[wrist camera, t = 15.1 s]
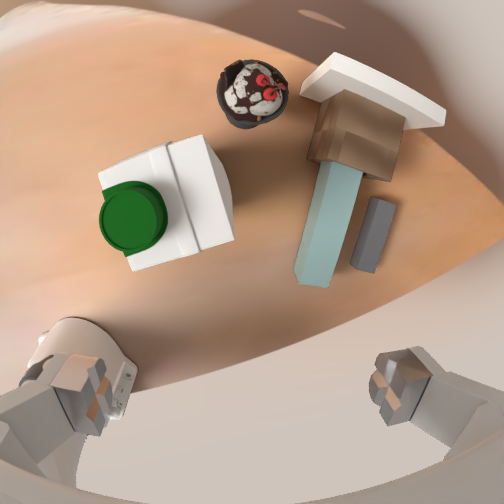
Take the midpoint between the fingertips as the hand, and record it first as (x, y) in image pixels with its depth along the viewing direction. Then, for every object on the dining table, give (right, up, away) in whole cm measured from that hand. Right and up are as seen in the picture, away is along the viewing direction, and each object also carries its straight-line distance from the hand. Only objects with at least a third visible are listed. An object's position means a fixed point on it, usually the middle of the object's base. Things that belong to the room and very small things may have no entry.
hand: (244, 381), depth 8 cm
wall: (+13, +23, +27) cm, 38 cm away
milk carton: (-7, +12, +29) cm, 32 cm away
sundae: (-1, +21, +26) cm, 34 cm away
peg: (+10, +9, +30) cm, 33 cm away
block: (+12, +18, +28) cm, 36 cm away
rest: (+17, +6, +32) cm, 37 cm away
